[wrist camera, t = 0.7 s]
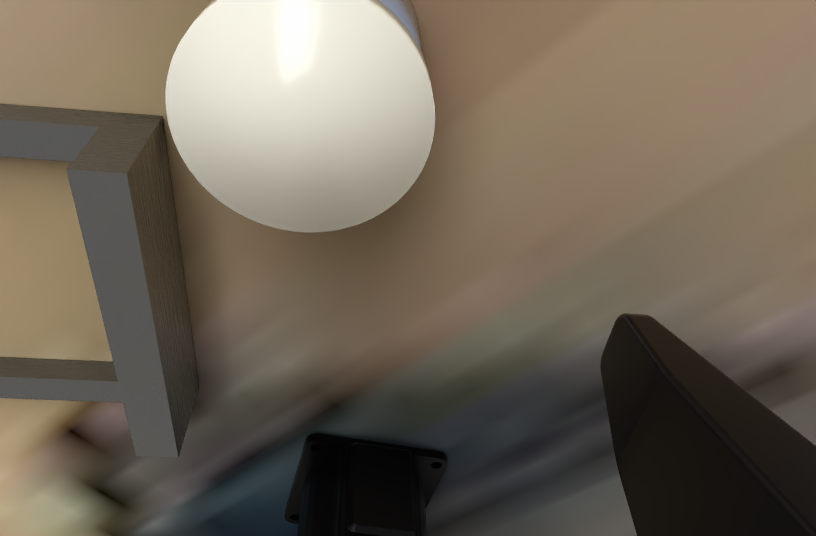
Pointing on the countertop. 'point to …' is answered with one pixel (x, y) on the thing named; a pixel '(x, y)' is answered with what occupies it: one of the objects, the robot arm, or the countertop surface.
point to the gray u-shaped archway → (117, 270)
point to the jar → (303, 108)
